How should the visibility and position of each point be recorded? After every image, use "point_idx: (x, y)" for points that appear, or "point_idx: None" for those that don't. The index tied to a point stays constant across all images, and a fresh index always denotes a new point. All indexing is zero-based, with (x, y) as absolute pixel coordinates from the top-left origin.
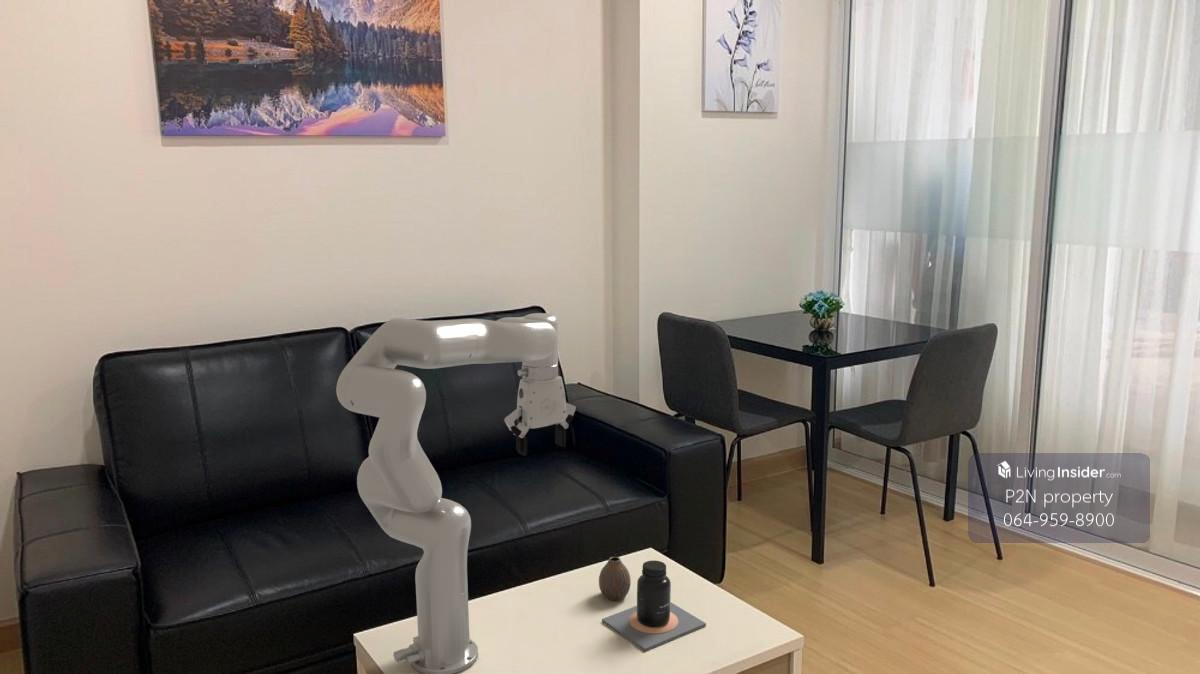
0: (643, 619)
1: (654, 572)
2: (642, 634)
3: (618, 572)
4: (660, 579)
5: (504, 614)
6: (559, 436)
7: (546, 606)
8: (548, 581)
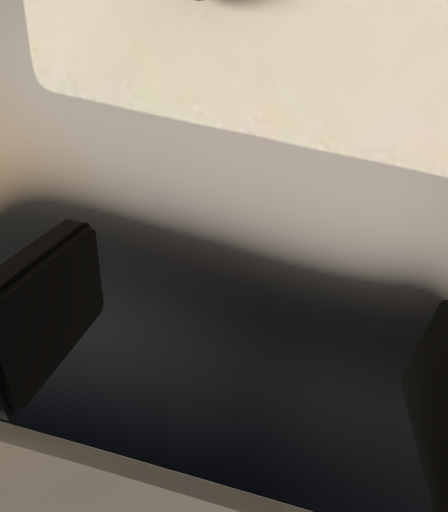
0: None
1: None
2: None
3: None
4: None
5: (440, 82)
6: (53, 307)
7: (351, 41)
8: (266, 133)
